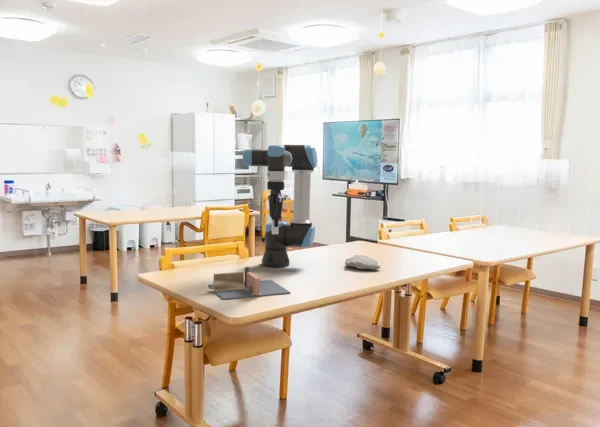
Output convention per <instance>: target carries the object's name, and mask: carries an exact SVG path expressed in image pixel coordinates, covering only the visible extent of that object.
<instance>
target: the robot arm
mask: <svg viewBox="0 0 600 427" xmlns="http://www.w3.org/2000/svg"><path fill="white" fill-rule="evenodd" d="M316 150H317V149H316V148H315V147H314V146H313V145H311V144H283V145H269V146H268V147H267V148H265V149H245V150H244V151H243V153H242V163H243V165H244V166H247V167H267V173H266V176H267V178H266V179H267V184H266V187H267V188H266V189H267V190H269V191H270V194H269V195H268V196H267V199H268V210H269V217H270V219H271V222H269V223H267V224H266V225H265V230H264V252H263V256H262V258H261V265H262V266H263V267H267V268H284V267H289V266H290V258H289V254H288V250H287V247H294V248H310V247H311V246H312V245H313V243H314V240H315V236H316V227H315V225H313V222H312V220H311V219H310V208H311V177H312V176H311V174H312V173H313V172H314V170H315V168H317V166H318V154H317V151H316ZM287 167H289V168H291V171H292V172H293V174H294V179H293V180H294V182H293V211H292V212H293V214H292V217H293V218H292V219H291V220H290V222H289V223H290V224H288V222H287V221H279V220H281V219H282V210H283V203H284V197H282V192H281V191H283V190H285V178H286V176H285V175H286V174H285V173H286V172H285V168H287Z"/></svg>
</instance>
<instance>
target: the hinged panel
mask: <svg viewBox="0 0 600 427" xmlns="http://www.w3.org/2000/svg"><path fill="white" fill-rule="evenodd" d="M260 281H261V278H259V277H258V276H257V275H256V274H254V273H253V272H251V271H250V272H247V286H251V287H252V288H251V292H252V293H253V294H254V295H260Z"/></svg>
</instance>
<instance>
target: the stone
mask: <svg viewBox="0 0 600 427" xmlns="http://www.w3.org/2000/svg"><path fill="white" fill-rule="evenodd" d="M345 266H346V267H352V268H356V269H357V270H358V269H359V270H372V271H374V270H376V271H377V270H379V269H381V264H380V265H379V264H378V261H377V260H374V259H373V258H372V257H370V256H368V255H365V254H364V255H363V254H355V255H353V256H351V257H349V258H346V259H345Z"/></svg>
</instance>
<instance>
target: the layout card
mask: <svg viewBox="0 0 600 427" xmlns="http://www.w3.org/2000/svg"><path fill="white" fill-rule="evenodd" d="M208 287H209V288H210V289H209V288H208V291H209V292H214V293H215V294H216V295H217V296H218V297H219V298H220V299H221V300H222V301H225V300H226V301H227V300H239V299H248V298H259V297H269V296H277V295H278V296H281V295H291V291H289V290H288V289H286V288H285V287H283V286H282V285H280V284H279V283H277V282H276V281H274V280H272V279H263V280H260V295H254V294H253V293H252V292H251V288H252V287H251V286H247V288H245V281H244V288H238V289H226V290H214V283H212V284H208Z"/></svg>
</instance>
